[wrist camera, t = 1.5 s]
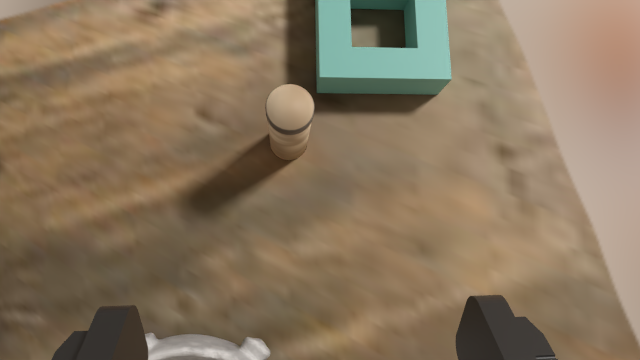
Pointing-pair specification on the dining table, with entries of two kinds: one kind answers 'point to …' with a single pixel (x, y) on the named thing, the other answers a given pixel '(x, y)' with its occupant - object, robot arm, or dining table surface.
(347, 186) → the dining table surface
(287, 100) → the tan banded cylinder
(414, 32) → the teal square frame
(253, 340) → the dish
